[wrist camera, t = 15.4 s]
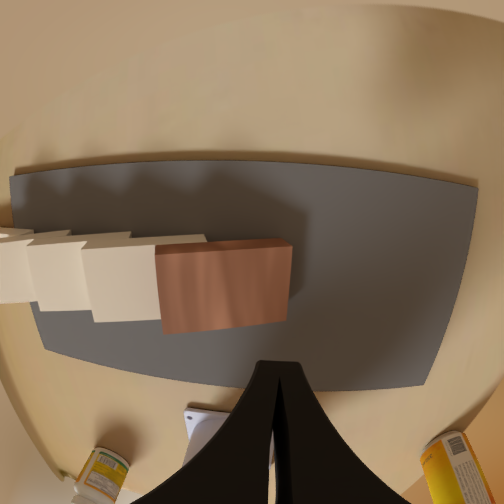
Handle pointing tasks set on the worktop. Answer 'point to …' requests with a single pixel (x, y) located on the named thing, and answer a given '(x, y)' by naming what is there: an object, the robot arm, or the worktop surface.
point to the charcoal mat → (302, 265)
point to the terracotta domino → (222, 284)
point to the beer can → (454, 471)
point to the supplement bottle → (100, 478)
